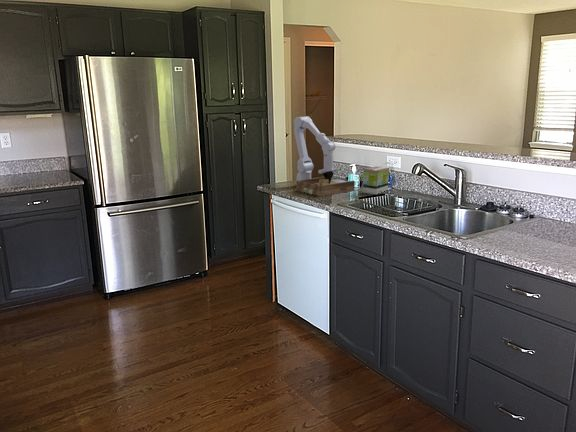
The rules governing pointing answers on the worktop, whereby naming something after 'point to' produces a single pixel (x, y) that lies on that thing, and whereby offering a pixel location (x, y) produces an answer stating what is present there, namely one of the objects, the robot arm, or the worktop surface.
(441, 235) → the worktop surface
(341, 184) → the trap board
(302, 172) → the robot arm
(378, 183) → the tea box
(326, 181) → the maple cube
